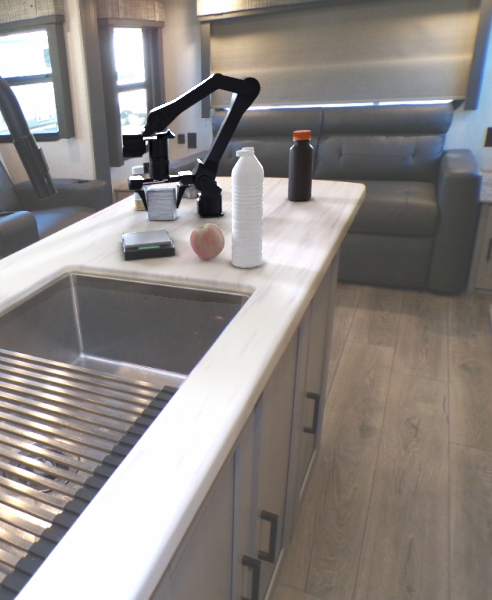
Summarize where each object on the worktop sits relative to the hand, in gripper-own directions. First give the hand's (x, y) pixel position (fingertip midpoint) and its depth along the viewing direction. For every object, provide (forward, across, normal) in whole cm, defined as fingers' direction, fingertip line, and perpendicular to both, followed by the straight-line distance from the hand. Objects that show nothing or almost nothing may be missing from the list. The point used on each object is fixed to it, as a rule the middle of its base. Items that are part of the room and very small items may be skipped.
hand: (162, 209), depth 158 cm
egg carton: (+3, -14, -27) cm, 31 cm away
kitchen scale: (+3, +7, +27) cm, 28 cm away
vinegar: (+3, -43, -7) cm, 44 cm away
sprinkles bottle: (+3, +5, -14) cm, 15 cm away
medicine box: (+3, 0, 0) cm, 3 cm away
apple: (+3, -6, +38) cm, 39 cm away
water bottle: (+3, -13, +45) cm, 47 cm away
